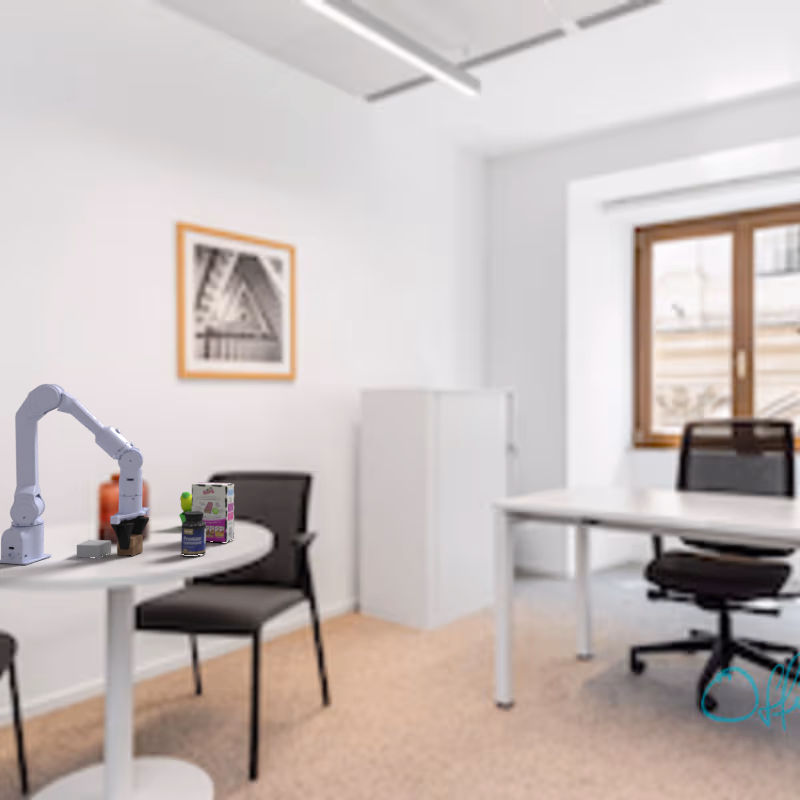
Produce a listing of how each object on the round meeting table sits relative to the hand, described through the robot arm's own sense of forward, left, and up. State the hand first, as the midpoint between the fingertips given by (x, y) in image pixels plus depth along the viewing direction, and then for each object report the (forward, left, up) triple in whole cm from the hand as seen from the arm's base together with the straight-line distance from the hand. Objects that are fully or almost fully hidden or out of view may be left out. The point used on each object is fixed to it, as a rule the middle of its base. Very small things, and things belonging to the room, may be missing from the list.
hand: (130, 547), depth 183 cm
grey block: (-3, +8, -2) cm, 9 cm away
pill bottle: (+4, -16, -2) cm, 16 cm away
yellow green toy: (+37, +1, -2) cm, 37 cm away
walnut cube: (0, 0, -2) cm, 2 cm away
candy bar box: (+21, -13, -2) cm, 24 cm away
